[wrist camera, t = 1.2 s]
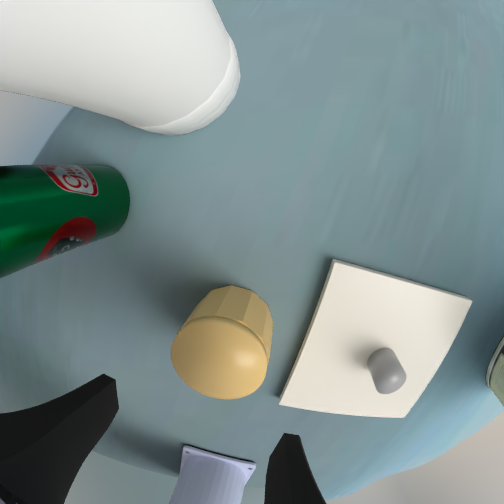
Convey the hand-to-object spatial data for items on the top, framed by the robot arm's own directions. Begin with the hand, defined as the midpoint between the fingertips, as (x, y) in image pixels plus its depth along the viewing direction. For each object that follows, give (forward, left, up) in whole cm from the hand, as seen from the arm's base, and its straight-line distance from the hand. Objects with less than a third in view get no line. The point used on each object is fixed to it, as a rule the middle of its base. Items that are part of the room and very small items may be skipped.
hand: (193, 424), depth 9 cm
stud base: (0, -11, -9) cm, 14 cm away
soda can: (+6, +11, -10) cm, 16 cm away
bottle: (+15, +7, -10) cm, 19 cm away
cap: (0, 0, -9) cm, 9 cm away
